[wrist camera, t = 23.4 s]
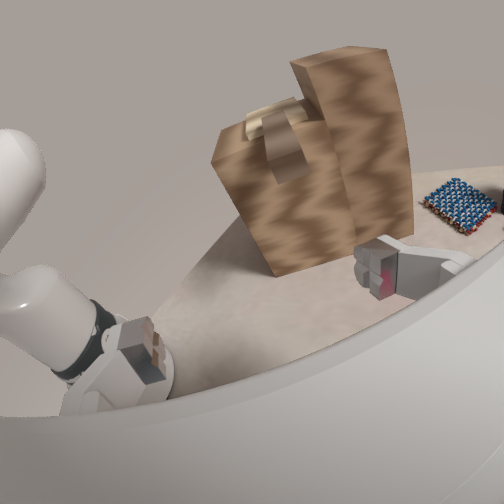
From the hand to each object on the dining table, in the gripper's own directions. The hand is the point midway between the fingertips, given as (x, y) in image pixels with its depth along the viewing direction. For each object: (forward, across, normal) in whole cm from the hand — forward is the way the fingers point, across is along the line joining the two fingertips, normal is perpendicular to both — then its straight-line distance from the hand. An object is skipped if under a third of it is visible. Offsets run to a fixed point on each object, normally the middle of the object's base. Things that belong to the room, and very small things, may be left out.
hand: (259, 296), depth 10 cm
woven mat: (+16, -38, +10) cm, 42 cm away
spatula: (+19, -9, -5) cm, 22 cm away
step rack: (+28, -19, +12) cm, 35 cm away
